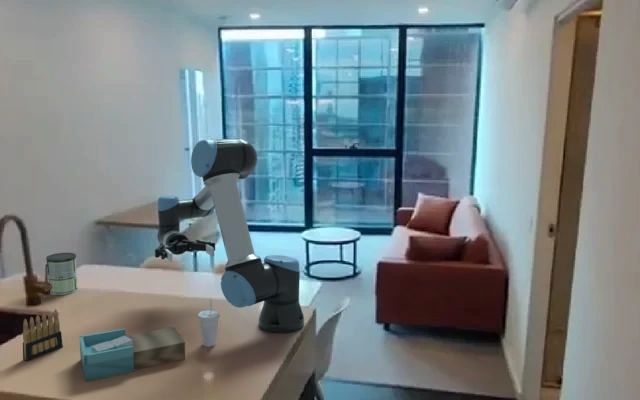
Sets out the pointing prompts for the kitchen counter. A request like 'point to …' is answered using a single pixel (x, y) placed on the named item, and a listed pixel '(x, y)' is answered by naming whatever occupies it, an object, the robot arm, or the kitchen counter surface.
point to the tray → (105, 356)
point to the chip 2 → (122, 342)
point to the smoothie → (209, 326)
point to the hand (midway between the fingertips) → (192, 254)
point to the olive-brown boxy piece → (157, 347)
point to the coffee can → (62, 273)
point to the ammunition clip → (41, 336)
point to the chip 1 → (102, 347)
